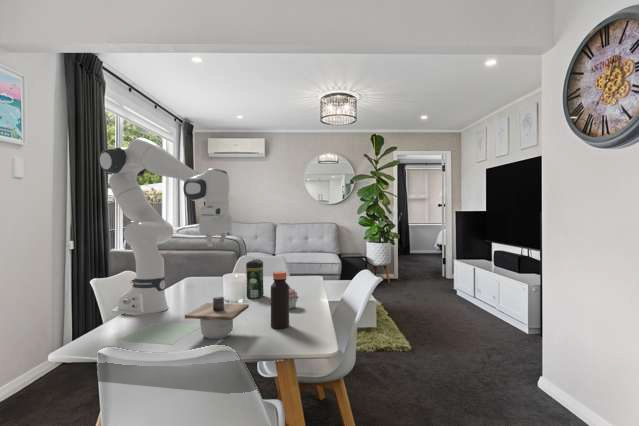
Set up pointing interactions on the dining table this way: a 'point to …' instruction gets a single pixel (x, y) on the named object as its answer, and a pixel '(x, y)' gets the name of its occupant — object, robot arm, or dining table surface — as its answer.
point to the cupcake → (292, 298)
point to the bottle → (279, 301)
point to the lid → (217, 310)
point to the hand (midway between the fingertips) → (216, 245)
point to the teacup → (216, 328)
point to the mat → (161, 333)
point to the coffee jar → (254, 279)
